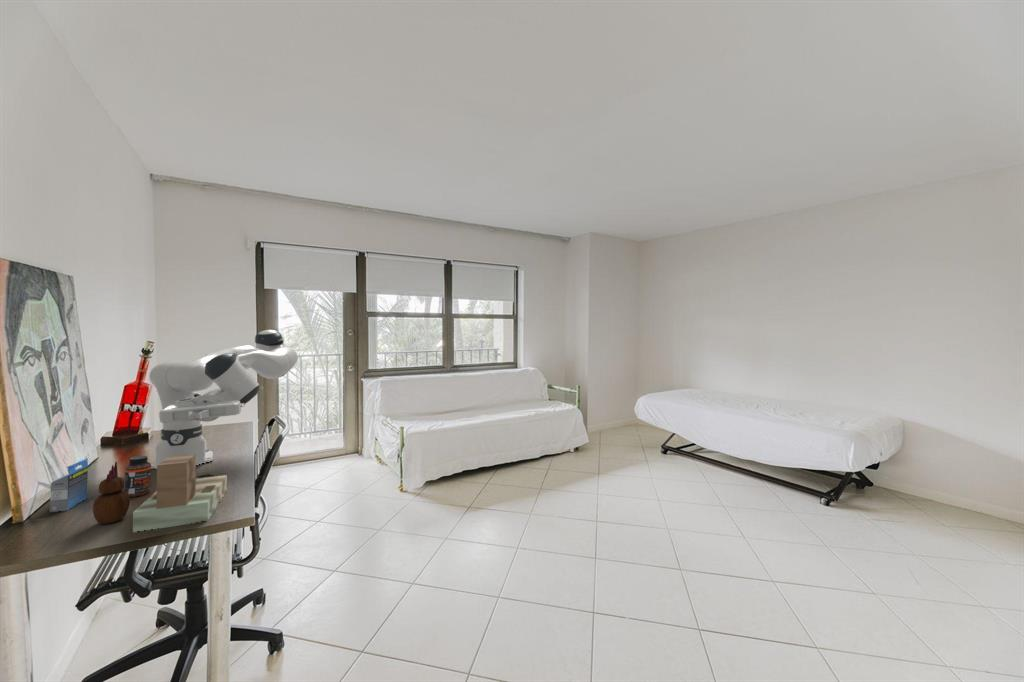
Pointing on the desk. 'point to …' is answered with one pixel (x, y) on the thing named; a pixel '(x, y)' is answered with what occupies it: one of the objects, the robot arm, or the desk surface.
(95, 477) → the desk surface
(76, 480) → the label tape box
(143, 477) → the supplement bottle
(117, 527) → the desk surface
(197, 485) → the trap runway
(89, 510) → the desk surface
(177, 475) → the walnut block
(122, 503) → the wooden figurine
